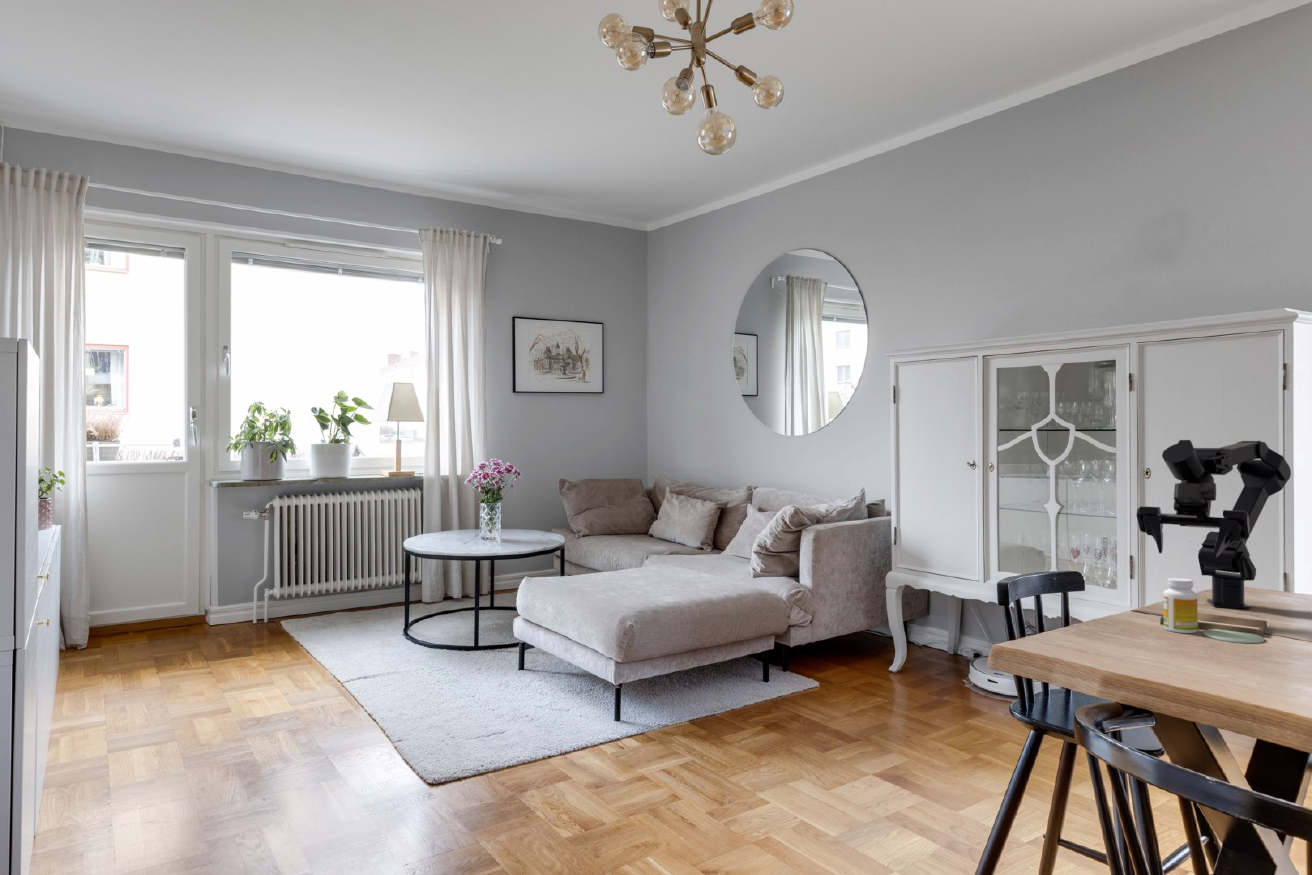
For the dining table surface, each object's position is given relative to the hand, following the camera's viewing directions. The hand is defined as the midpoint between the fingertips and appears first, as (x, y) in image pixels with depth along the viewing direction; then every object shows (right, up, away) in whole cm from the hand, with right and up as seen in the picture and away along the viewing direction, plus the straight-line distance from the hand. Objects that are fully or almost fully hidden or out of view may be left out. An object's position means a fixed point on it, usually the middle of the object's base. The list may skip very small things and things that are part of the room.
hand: (1187, 554), depth 158 cm
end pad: (+1, -14, -11) cm, 18 cm away
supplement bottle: (-5, -14, -6) cm, 16 cm away
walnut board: (+4, -14, -2) cm, 14 cm away
